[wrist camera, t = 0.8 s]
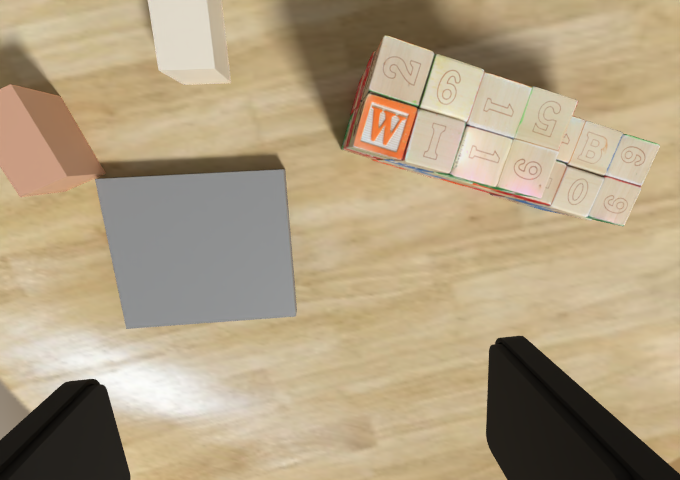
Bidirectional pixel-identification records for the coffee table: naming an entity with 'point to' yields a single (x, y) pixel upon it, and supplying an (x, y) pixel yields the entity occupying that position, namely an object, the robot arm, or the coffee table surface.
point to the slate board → (200, 246)
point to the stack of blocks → (493, 135)
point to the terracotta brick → (42, 143)
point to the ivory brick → (190, 40)
